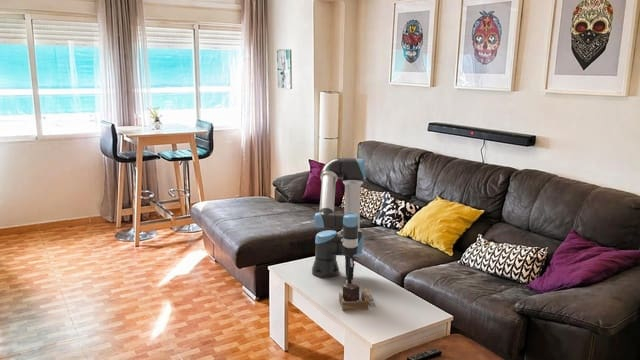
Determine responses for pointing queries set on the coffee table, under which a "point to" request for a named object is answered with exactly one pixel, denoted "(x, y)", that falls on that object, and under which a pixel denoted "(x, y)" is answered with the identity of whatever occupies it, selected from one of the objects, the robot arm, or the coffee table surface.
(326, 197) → the robot arm
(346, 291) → the box
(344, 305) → the box
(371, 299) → the scraper
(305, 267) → the coffee table surface
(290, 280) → the coffee table surface
